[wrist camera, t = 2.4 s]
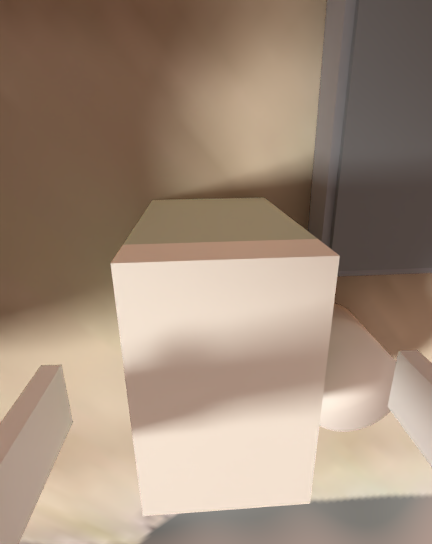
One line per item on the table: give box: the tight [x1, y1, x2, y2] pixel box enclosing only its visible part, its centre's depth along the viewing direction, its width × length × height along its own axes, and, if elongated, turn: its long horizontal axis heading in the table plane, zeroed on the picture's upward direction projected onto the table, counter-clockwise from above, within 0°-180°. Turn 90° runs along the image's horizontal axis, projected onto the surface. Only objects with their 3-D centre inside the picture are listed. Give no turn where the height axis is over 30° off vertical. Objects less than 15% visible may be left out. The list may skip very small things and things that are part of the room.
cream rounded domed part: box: [319, 303, 396, 432], centre depth 23 cm, size 6×6×6 cm
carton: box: [111, 197, 340, 516], centre depth 18 cm, size 7×11×12 cm, turn 1°
